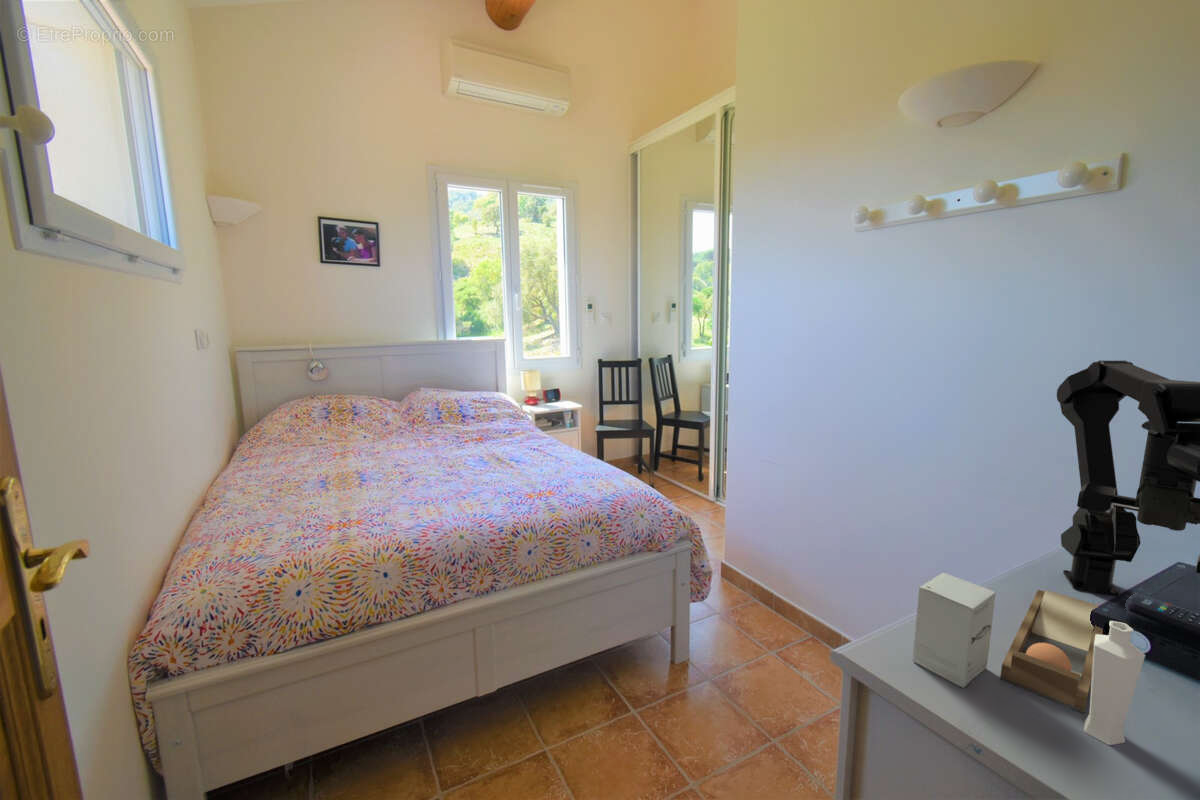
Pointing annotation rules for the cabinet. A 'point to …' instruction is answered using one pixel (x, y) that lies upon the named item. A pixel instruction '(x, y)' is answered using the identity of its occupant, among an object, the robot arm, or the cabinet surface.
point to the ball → (1049, 655)
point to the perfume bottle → (1112, 683)
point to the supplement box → (953, 628)
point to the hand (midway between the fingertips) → (1153, 561)
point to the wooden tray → (1064, 629)
